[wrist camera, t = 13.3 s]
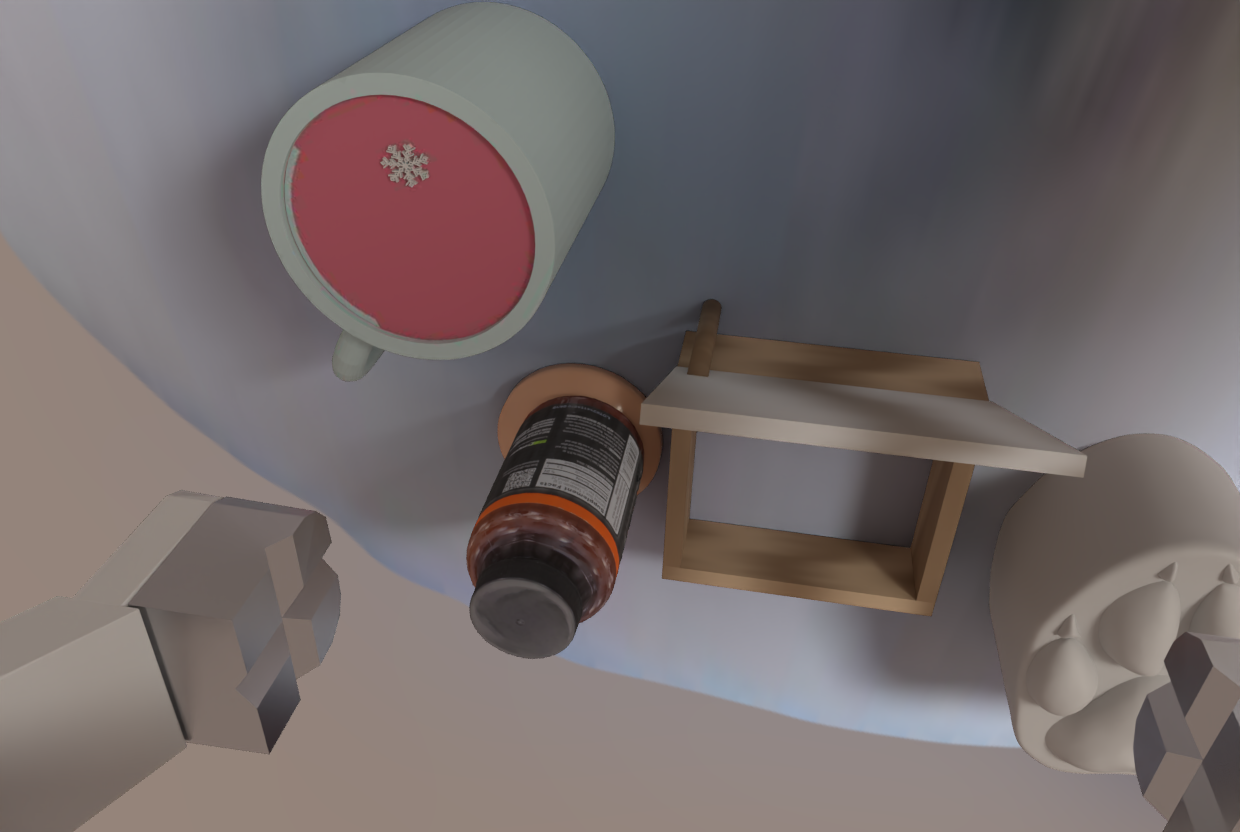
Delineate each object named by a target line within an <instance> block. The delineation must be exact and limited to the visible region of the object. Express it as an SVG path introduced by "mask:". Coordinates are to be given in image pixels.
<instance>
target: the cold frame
mask: <svg viewBox="0 0 1240 832" xmlns="http://www.w3.org/2000/svg"><path fill="white" fill-rule="evenodd" d="M721 309H722V307H721V304H720V303H719V302H718V301H716V300H713V299H710V300H707V301H705V302H704V304H703V306H702V310H701V315H700V319H699V323H698V328H697V332H692V331H686V333H685V338H684V342H683V346H682V350H681V354H680V358H679V362H678V366H676V367H675V368H674V369H673V370H672V372H671V373H670V374H669V375H668V376H667V377H666V378H665V379H664V380H663V381H662V382H661V383H660V384H659V385H658V386H657V387H656V389H655V390H654V391H653V392H652V393H651V394H650V395H649V396H648V397H647V398H646V399H645V400H644V401H643V402H642V403H641V412H640V422H639V424H640V425H649V426H657V427H665V428H672V436H671V451H670V466H669V481H668V496H667V511H666V525H665V540H664V555H663V570H662V579H669V580H676V581H683V582H690V583H697V584H704V585H712V586H719V587H726V588H733V589H740V590H747V591H754V592H761V593H768V594H776V595H783V596H790V597H797V598H804V599H811V600H818V601H825V602H832V603H840V604H847V605H854V606H861V607H868V608H875V609H882V610H889V611H896V612H904V613H911V614H918V615H925V616H932V613H933V609H934V606H935V602H936V599H937V595H938V592H939V588H940V585H941V581H942V578H943V574H944V571H945V567H946V564H947V560H948V557H949V553H950V550H951V546H952V543H953V539H954V536H955V532H956V529H957V526H958V522H959V519H960V515H961V512H962V508H963V505H964V501H965V498H966V494H967V491H968V487H969V484H970V480H971V477H972V473H973V470H974V466H975V465H982V466H990V467H998V468H1007V469H1015V470H1023V471H1032V472H1040V473H1048V474H1057V475H1065V476H1073V477H1082V478H1084V472H1085V467H1086V461H1087V455H1085V454H1083V453H1082V452H1080V451H1078V450H1076V449H1075V448H1073V447H1071V446H1069V445H1068V444H1066V443H1064V442H1062V441H1061V440H1059V439H1057V438H1055V437H1054V436H1052V435H1050V434H1048V433H1047V432H1045V431H1043V430H1041V429H1040V428H1038V427H1036V426H1034V425H1033V424H1031V423H1029V422H1027V421H1026V420H1024V419H1022V418H1020V417H1018V416H1017V415H1015V414H1013V413H1011V412H1010V411H1008V410H1006V409H1004V408H1003V407H1001V406H999V405H997V404H996V403H994V402H992V401H989V399H988V395H987V391H986V387H985V383H984V379H983V376H982V372H981V368H980V364H979V362H973V361H964V360H954V359H945V358H936V357H926V356H917V355H907V354H898V353H889V352H879V351H870V350H861V349H851V348H842V347H832V346H823V345H814V344H804V343H795V342H786V341H776V340H767V339H757V338H748V337H739V336H729V335H720V334H717V330H718V325H719V320H720V315H721ZM697 431H699V432H707V433H715V434H724V435H732V436H740V437H749V438H757V439H765V440H774V441H782V442H790V443H799V444H807V445H815V446H823V447H832V448H840V449H848V450H857V451H865V452H873V453H882V454H890V455H898V456H907V457H915V458H923V459H932V460H933V462H932V466H931V470H930V474H929V478H928V482H927V486H926V490H925V494H924V498H923V501H922V505H921V509H920V513H919V517H918V521H917V525H916V529H915V533H914V537H913V540H912V544H911V548H907V547H899V546H891V545H884V544H876V543H869V542H861V541H854V540H846V539H838V538H831V537H823V536H816V535H808V534H801V533H793V532H785V531H778V530H770V529H763V528H755V527H748V526H740V525H732V524H725V523H717V522H710V521H702V520H695V519H689V516H690V504H691V492H692V481H693V469H694V457H695V445H696V433H697Z"/></svg>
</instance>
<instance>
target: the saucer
mask: <svg viewBox="0 0 1240 832" xmlns="http://www.w3.org/2000/svg"><path fill="white" fill-rule="evenodd" d="M563 396H586V397H590V398H595V399H597V400H600V401H602V402H605V403H607V404H609V405H611V406H613V407H614V408H615V409H617V410H619V411H620V412H622V413H623V414H624V415H625V416H626V417H627V418H628V419H629V420H630V421H631V423H632V424H633V425H634V426H635V428H636V430H637V432H638V434H639V436H640V438H641V440H642V443H643V448H644V466H643V474H642V478H641V481H640V485H639V490H638V493H637V495H638V494H639V493H641V492H642V491H643V490H644V489H645V488H646V487H647V486H648V484H649V483H650V482H651V480H652V479H653V477H654V475H655V473H656V471H657V468H658V465H659V461H660V457H661V453H662V446H663V435H662V429H661V427H657V426H649V425H640V424H639V422H640V412H641V403H642V402H643V401H644V400H645V399H646V397H645V396H644V395H643V394H642V393H641V392H640V391H639V390H638V389H637V388H636V387H635V386H634V385H633V384H631V383H630V382H628V381H627V380H625V379H624V378H622V377H620V376H619V375H617V374H615V373H613V372H610V371H608V370H605V369H603V368H599V367H596V366H592V365H586V364H576V363H566V364H557V365H551V366H548V367H545V368H541V369H539V370H537V371H535V372H533V373H531V374H529V375H528V376H526V377H525V378H523V379H522V380H521V381H520V382H519V383H518V384H517V385H516V386H515V387H514V389H513V390H512V391H511V393H510V395H509V397H508V398H507V400H506V402H505V404H504V406H503V408H502V411H501V413H500V416H499V421H498V441H499V446H500V449H501V452H502V455H503V457H504V459H505V458H506V456H507V454H508V451H509V449H510V447H511V445H512V443H513V441H514V438H515V436H516V434H517V432H518V430H519V428H520V426H521V425H522V423H523V422H524V420H525V418H526V417H527V416H528V414H529V413H530V412H531V411H532V410H533V409H535V408H536V407H537V406H539V405H540V404H542V403H544V402H546V401H548V400H551V399H554V398H557V397H563Z"/></svg>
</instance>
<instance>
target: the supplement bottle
mask: <svg viewBox="0 0 1240 832" xmlns="http://www.w3.org/2000/svg"><path fill="white" fill-rule="evenodd" d="M643 466H644V448H643V443H642V440H641V438H640V436H639V434H638V432H637V430H636V428H635V426H634V425H633V424H632V423H631V421H630V420H629V419H628V418H627V417H626V416H625V415H624V414H623V413H622V412H620V411H619V410H617V409H615V408H614V407H613V406H611V405H609V404H607V403H605V402H602V401H600V400H597V399H595V398H590V397H586V396H563V397H557V398H554V399H551V400H548V401H546V402H544V403H542V404H540V405H539V406H537V407H536V408H535V409H533V410H532V411H531V412H530V413H529V414H528V416H527V417H526V418H525V420H524V422H523V423H522V425H521V426H520V428H519V430H518V432H517V434H516V436H515V438H514V441H513V443H512V445H511V447H510V449H509V451H508V454H507V456H506V458H505V460H504V463H503V465H502V467H501V469H500V471H499V474H498V476H497V478H496V480H495V482H494V484H493V487H492V489H491V491H490V493H489V495H488V497H487V500H486V502H485V504H484V506H483V508H482V511H481V513H480V515H479V518H478V520H477V522H476V524H475V527H474V529H473V531H472V533H471V537H470V540H469V543H468V547H467V568H468V572H469V575H470V578H471V581H472V583H473V585H474V586H475V591H474V593H473V595H472V598H471V601H470V618H471V620H472V623H473V625H474V627H475V629H476V630H477V632H478V633H479V634H480V635H481V636H482V637H483V638H484V639H485V641H487V642H488V643H490V644H491V645H492V646H494V647H496V648H498V649H499V650H501V651H503V652H505V653H508V654H511V655H514V656H517V657H522V658H528V659H529V658H530V659H535V658H545V657H549V656H552V655H555V654H557V653H559V652H561V651H562V650H564V649H565V648H566V647H567V646H568V645H569V644H570V642H571V641H572V640H573V637H574V635H575V632H576V629H577V627H578V624H579V623H581V622H583V621H585V620H587V619H588V618H591V617H592V616H593V615H595V614H596V613H597V612H598V611H599V610H600V609H601V608H602V607H603V606H604V605H605V603H606V602H607V600H608V599H609V597H610V595H611V594H612V590H613V588H614V584H615V580H616V577H617V574H618V569H619V564H620V561H621V559H622V553H623V550H624V545H625V542H626V538H627V533H628V529H629V526H630V522H631V517H632V513H633V509H634V506H635V501H636V498H637V493H638V490H639V485H640V481H641V478H642V474H643Z"/></svg>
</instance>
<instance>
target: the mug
mask: <svg viewBox="0 0 1240 832" xmlns="http://www.w3.org/2000/svg"><path fill="white" fill-rule="evenodd" d="M614 145H615V128H614V118H613V113H612V108H611V104H610V101H609V98H608V94H607V92H606V89H605V87H604V84H603V82H602V80H601V78H600V76H599V74H598V72H597V71H596V69H595V68H594V66H593V64H592V63H591V61H590V60H589V58H588V57H587V56H586V55H585V53H584V52H583V51H582V50H581V48H580V47H579V46H578V45H577V44H576V43H575V42H574V41H573V40H572V39H571V38H570V37H569V36H568V35H566V34H565V33H564V32H563V31H562V30H560V29H559V28H558V27H556V26H555V25H554V24H552V23H550V22H549V21H547V20H546V19H544V18H542V17H540V16H538V15H536V14H534V13H532V12H530V11H527V10H524V9H522V8H519V7H515V6H511V5H508V4H501V3H495V2H473V3H466V4H460V5H456V6H453V7H450V8H447V9H444V10H442V11H440V12H437V13H436V14H434V15H432V16H431V17H429V18H427V19H425V20H424V21H422V22H421V23H419V24H417V25H416V26H414V27H413V28H411V29H409V30H408V31H406V32H405V33H403V34H401V35H400V36H398V37H397V38H395V39H393V40H392V41H390V42H389V43H387V44H385V45H384V46H382V47H381V48H379V49H377V50H376V51H374V52H373V53H371V54H369V55H368V56H366V57H365V58H363V59H361V60H360V61H358V62H357V63H355V64H353V65H352V66H350V67H349V68H347V69H345V70H344V71H342V72H341V73H339V74H337V75H336V76H334V77H333V78H331V79H329V80H328V81H326V82H325V83H323V84H321V85H320V86H318V87H317V88H315V89H313V90H312V91H310V92H309V93H307V94H306V95H305V96H303V97H302V98H301V99H299V100H298V101H297V102H296V103H295V104H294V105H293V106H292V107H291V108H290V109H289V110H288V112H287V113H286V114H285V115H284V117H283V118H282V119H281V121H280V122H279V124H278V125H277V127H276V129H275V130H274V132H273V135H272V137H271V139H270V141H269V144H268V147H267V150H266V153H265V157H264V162H263V167H262V177H261V197H262V206H263V212H264V217H265V221H266V225H267V228H268V232H269V235H270V238H271V240H272V243H273V245H274V248H275V250H276V252H277V254H278V256H279V258H280V260H281V262H282V264H283V265H284V267H285V269H286V270H287V272H288V274H289V275H290V277H291V278H292V279H293V281H294V282H295V284H296V285H297V286H298V288H299V289H300V290H301V291H302V292H303V294H304V295H305V296H306V297H307V298H308V299H309V300H310V301H311V302H312V303H313V304H314V305H315V307H316V308H317V309H319V310H320V311H321V312H322V313H323V314H324V315H325V316H326V317H328V318H329V319H330V320H331V321H333V322H334V323H335V324H337V325H338V326H339V327H341V328H342V329H343V331H342V333H341V335H340V338H339V340H338V342H337V345H336V347H335V351H334V354H333V358H332V367H333V371H334V373H335V375H336V376H337V377H338V378H339V379H341V380H343V381H348V382H350V381H357V380H360V379H361V378H362V377H364V376H365V375H366V374H367V373H368V372H369V370H370V369H371V368H372V367H373V366H374V364H375V363H376V362H377V360H378V359H379V358H380V356H381V355H382V354H383V352H384V351H385V350H386V351H388V352H391V353H395V354H399V355H402V356H407V357H412V358H418V359H428V360H449V359H459V358H464V357H469V356H473V355H477V354H480V353H483V352H485V351H488V350H490V349H493V348H494V347H496V346H498V345H500V344H502V343H504V342H505V341H507V340H508V339H510V338H511V337H513V336H514V335H515V334H516V333H517V332H518V331H520V330H521V329H522V328H523V327H524V326H525V325H526V323H527V322H528V321H529V320H530V319H531V318H532V316H533V315H534V314H535V312H536V311H537V309H538V308H539V306H540V304H541V302H542V300H543V299H544V297H545V295H546V293H547V291H548V289H549V287H550V286H551V284H552V282H553V280H554V278H555V276H556V274H557V272H558V270H559V269H560V267H561V265H562V263H563V261H564V259H565V257H566V255H567V254H568V252H569V250H570V248H571V246H572V244H573V242H574V240H575V239H576V237H577V235H578V233H579V231H580V229H581V227H582V225H583V223H584V222H585V220H586V218H587V216H588V214H589V212H590V210H591V208H592V207H593V205H594V203H595V201H596V199H597V197H598V195H599V193H600V192H601V190H602V188H603V186H604V184H605V181H606V179H607V177H608V174H609V171H610V168H611V164H612V159H613V154H614Z"/></svg>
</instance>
